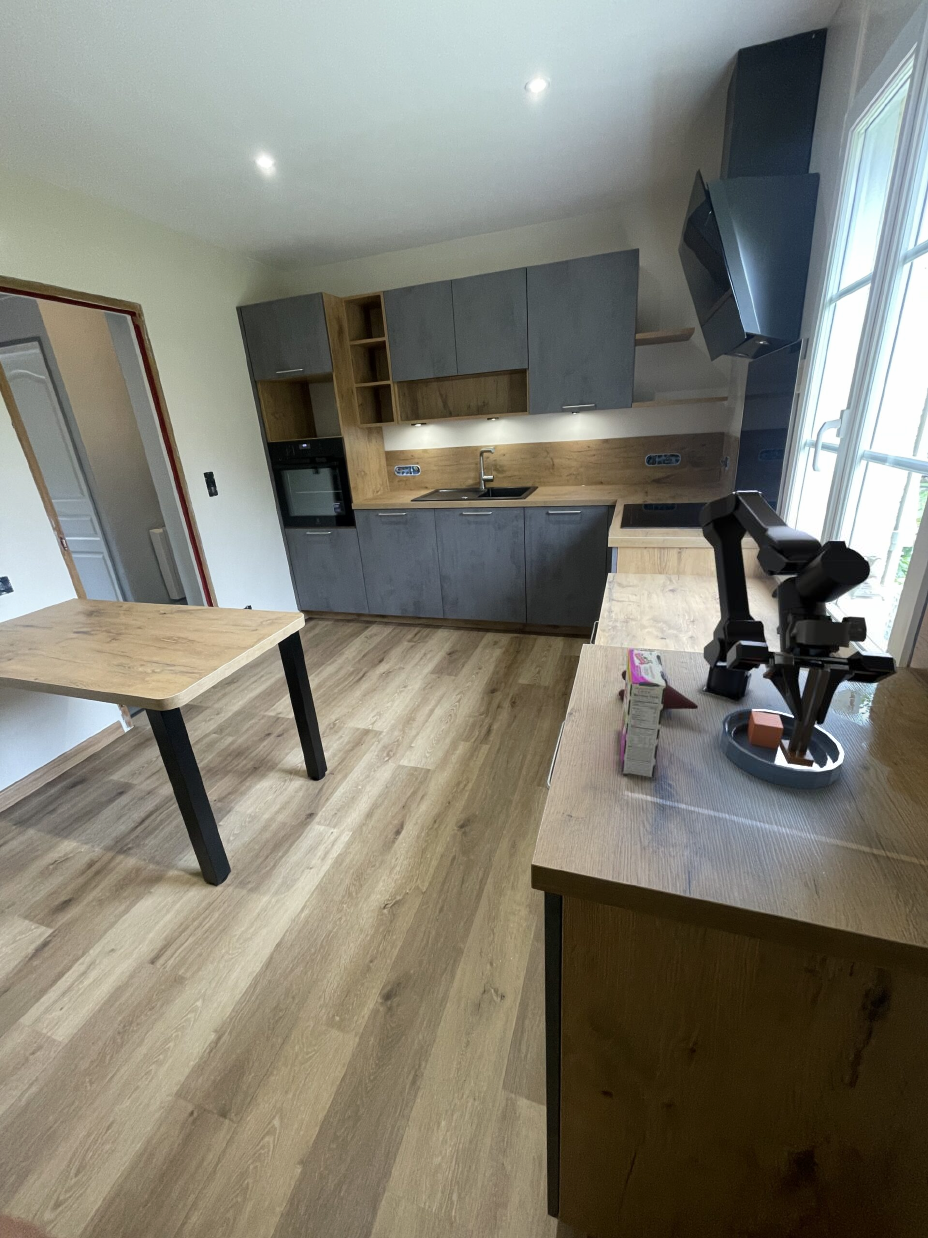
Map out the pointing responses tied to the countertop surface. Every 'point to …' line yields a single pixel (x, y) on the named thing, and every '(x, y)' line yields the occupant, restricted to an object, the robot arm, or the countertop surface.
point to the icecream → (669, 697)
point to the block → (765, 729)
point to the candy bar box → (642, 712)
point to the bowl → (780, 753)
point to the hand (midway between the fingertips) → (809, 723)
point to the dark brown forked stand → (806, 719)
